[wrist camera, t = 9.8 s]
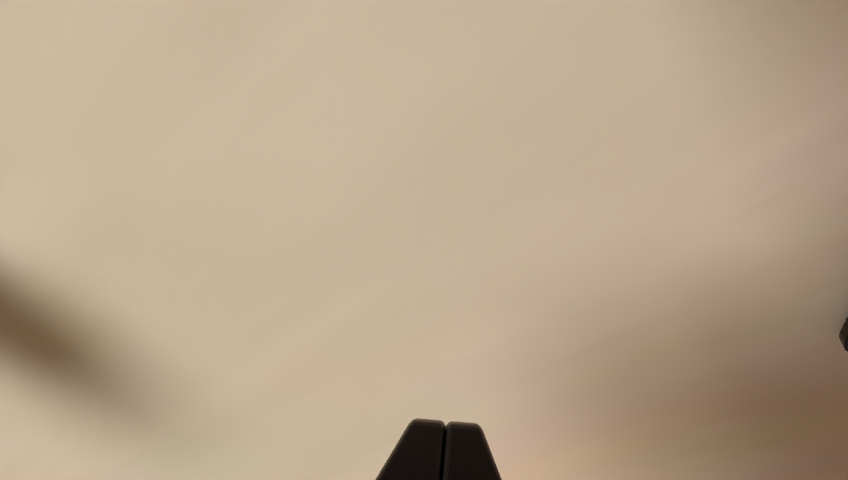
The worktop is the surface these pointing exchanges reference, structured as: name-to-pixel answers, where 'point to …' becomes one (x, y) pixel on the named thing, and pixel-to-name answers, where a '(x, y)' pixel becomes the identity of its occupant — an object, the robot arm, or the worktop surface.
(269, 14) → the worktop surface
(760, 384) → the worktop surface
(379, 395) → the worktop surface
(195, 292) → the worktop surface
